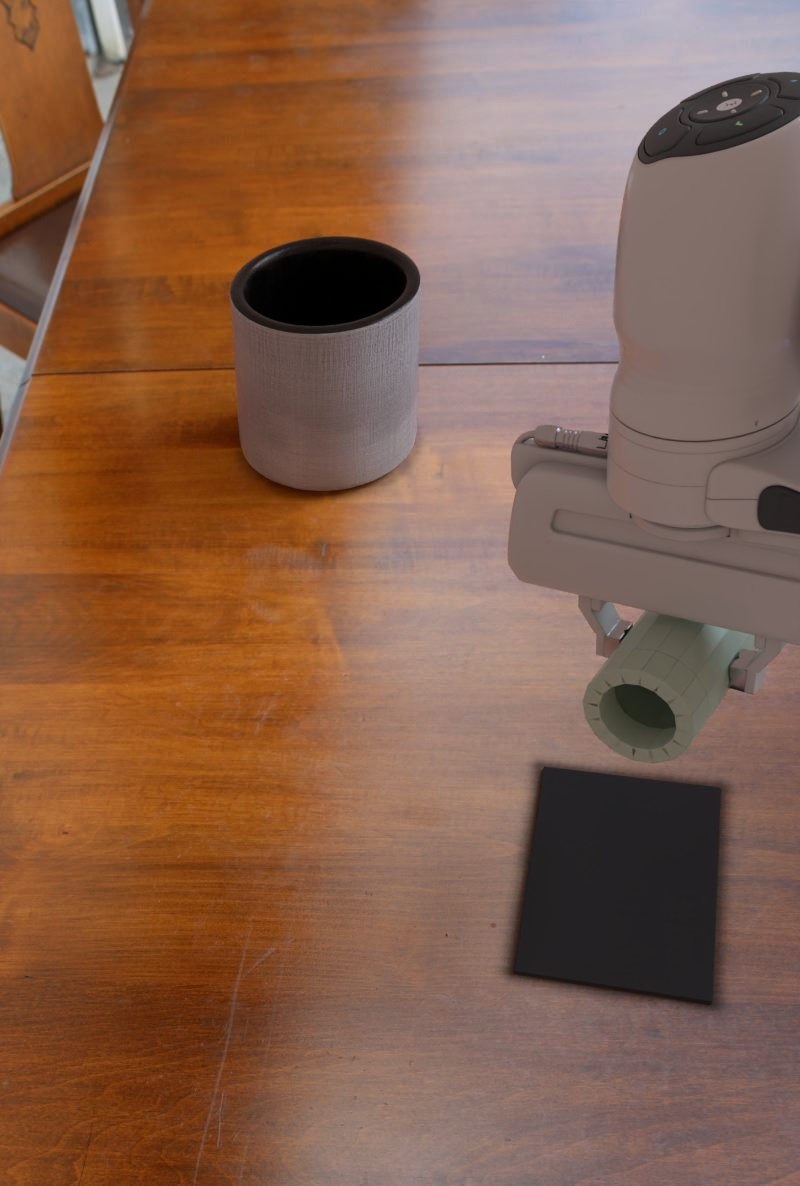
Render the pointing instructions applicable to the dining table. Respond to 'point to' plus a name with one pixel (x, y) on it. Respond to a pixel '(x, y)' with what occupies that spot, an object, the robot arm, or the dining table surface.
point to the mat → (623, 885)
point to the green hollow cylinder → (661, 686)
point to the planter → (327, 361)
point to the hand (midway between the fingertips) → (678, 668)
